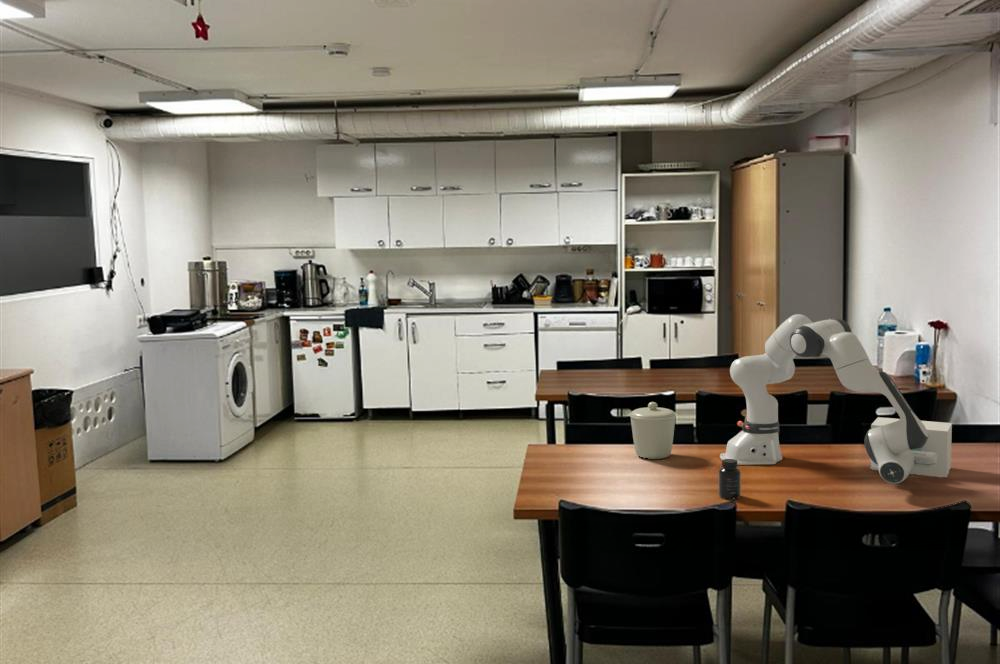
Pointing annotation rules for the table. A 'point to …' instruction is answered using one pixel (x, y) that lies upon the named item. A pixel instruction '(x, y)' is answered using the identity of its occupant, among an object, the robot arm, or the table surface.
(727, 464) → the supplement bottle
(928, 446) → the knob mount
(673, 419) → the canister
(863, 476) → the table surface
